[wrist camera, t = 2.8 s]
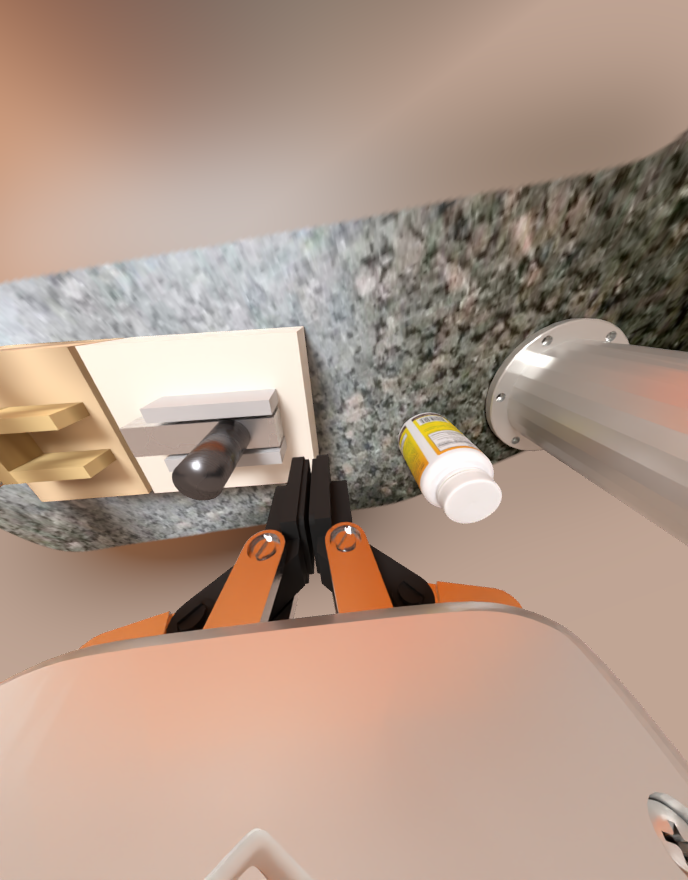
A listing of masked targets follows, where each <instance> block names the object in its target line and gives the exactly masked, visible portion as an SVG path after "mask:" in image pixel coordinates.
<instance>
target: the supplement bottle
mask: <svg viewBox="0 0 688 880" xmlns="http://www.w3.org/2000/svg"><path fill="white" fill-rule="evenodd" d="M398 445H399V448H400V451H401V453H402V455H403V457H404V459H405V460H406V462H407V464H408V466H409V468H410V470H411V472H412V474H413V476H414V478H415V480H416V482H417V484H418V486H419V488H420V490H421V492H422V494H423V495H424V497H425V498H426V500H427V501H428V502H429V503H431V504H432V505H434V506H436V507H439V508H442V509H443V510H444V512H445V514H446V515H447V516H448V518H450V519H451V520H453V521H455V522H458V523H473V522H477V521H480V520H482V519H484V518H486V517H488V516H489V515H490V514H492V513H493V512H494V511H495V510H496V509H497V507H498V506H499V504H500V502H501V498H502V493H501V489H500V487H499V486H498V485H497V484H496V482H494V480H493V475H494V472H493V466H492V464H491V462H490V460H489V459H488V458H487V457H486V456H485V455H484V454H483V453H482V452H481V451H480V450H479V449H478V448H477V447H476V446H475V445H474V444H473V443H472V442H471V441H469V440H468V439H467V438H466V437H465V436H464V435H463V434H462V433H461V432H460V431H459V430H458V429H457V428H456V427H455V426H453V425H452V424H451V423H450V422H449V421H448V420H447V419H446V418H445V417H443V416H441V415H439V414H436V413H430V412H427V413H421V414H418V415H416V416H414V417H412V418H410V419H409V420H408V421H407V422H406V423H405V424H404V425H403V427H402V428H401V430H400V432H399V436H398Z"/></svg>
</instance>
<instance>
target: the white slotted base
mask: <svg viewBox="0 0 688 880" xmlns="http://www.w3.org/2000/svg"><path fill="white" fill-rule="evenodd" d="M75 347H76V349H77V351H78V353H79V355H80V357H81V359H82V360H83V362H84V364H85V366H86V368H87V370H88V371H89V373H90V375H91V377H92V379H93V381H94V382H95V384H96V386H97V388H98V390H99V392H100V393H101V395H102V397H103V399H104V401H105V403H106V404H107V406H108V408H109V410H110V412H111V414H112V415H113V417H114V419H115V421H116V423H117V425H118V426H119V428H121V427H123V426H125V425H127V424H128V423H130V422H132V421H133V420H135V419H137V418H138V417H143V418H144V420H145V422H146V424H149V423H163V422H177V421H191V420H205V419H219V418H233V417H246V416H260V415H272V414H273V412H274V410H275V408H276V407H279V411H280V416H281V421H282V426H283V431H284V435H283V438H282V441H281V443H280V446H279V447H267V448H253V449H246V450H245V452H244V453H243V455H242V457H241V459H240V460H239V462H238V464H237V465H236V467H235V469H234V471H233V472H232V474H231V476H230V478H229V479H228V481H227V483H226V484H225V486H224V488H228V487H241V486H254V485H267V484H280V483H287V482H288V477H289V471H290V466H291V461H292V458H293V457H305V459H309V462H310V468H311V471H312V459H316V457H317V455H319V449H318V441H317V432H316V424H315V416H314V408H313V399H312V391H311V383H310V375H309V366H308V358H307V350H306V342H305V334H304V326H300V327H285V328H269V329H254V330H238V331H223V332H207V333H192V334H176V335H161V336H145V337H130V338H124V339H118V340H111V341H105V342H99V343H93V344H86V345H80V346H75ZM188 454H189V453H186V454H173V455H159V456H146V457H135V458H136V460H137V461H138V463H139V465H140V467H141V469H142V471H143V472H144V474H145V476H146V478H147V480H148V482H149V483H150V485H151V487H152V489H153V491H154V493H164V492H177V491H179V490H178V489H177V488H176V487H175V485H174V484H173V481H172V473H173V471H174V469H175V468H176V467H177V466H178V465H179V464H180V462H181V461H182V460H183V459H184V458H185V457H186V456H187V455H188Z"/></svg>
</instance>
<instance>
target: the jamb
mask: <svg viewBox="0 0 688 880" xmlns="http://www.w3.org/2000/svg"><path fill="white" fill-rule="evenodd" d="M118 339H124V338H114V339H99V340H83V341H67V342H52V343H36V344H21V345H8V346H0V481H1V482H2V483H3V484H4V485H7V484H20V483H27V484H28V486H29V487H30V488H31V489H32V490H33V491H34V493H35V494H36V495H37V496H38V497H39V499H40V500H41V501H42V502H48V501H61V500H74V499H87V498H99V497H112V496H125V495H138V494H149V493H150V492H151V491H152V490H153V489H152V487H151V485H150V483H149V482H148V480H147V478H146V476H145V474H144V472H143V471H142V469H141V467H140V465H139V463H138V461H137V460H136V458H135V457H134V455H133V453H132V451H131V450H130V448H129V446H128V444H127V442H126V440H125V439H124V437H123V435H122V433H121V431H120V428H119V426H118V425H117V423H116V421H115V419H114V417H113V415H112V414H111V412H110V410H109V408H108V406H107V404H106V403H105V401H104V399H103V397H102V395H101V393H100V392H99V390H98V388H97V386H96V384H95V382H94V381H93V379H92V377H91V375H90V373H89V371H88V370H87V368H86V366H85V364H84V362H83V360H82V359H81V357H80V355H79V353H78V351H77V349H76V347H75V346H80V345H86V344H93V343H99V342H105V341H111V340H118Z"/></svg>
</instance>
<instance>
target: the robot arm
mask: <svg viewBox="0 0 688 880" xmlns="http://www.w3.org/2000/svg"><path fill="white" fill-rule="evenodd" d="M485 410H486V417H487V421H488V424H489V427H490V429H491V430H492V431H493V433H494V434H495V435H496V436H497V437H498V438H499V439H500V440H502V441H503V442H504V443H506V444H507V445H509V446H511V447H513V448H516V449H520V450H527V451H535V450H545V451H547V452H548V453H550V454H551V455H553V456H554V457H556V458H557V459H559V460H560V461H562V462H563V463H565V464H566V465H568V466H569V467H571V468H572V469H573V470H575V471H576V472H578V473H580V474H581V475H582V476H584V477H585V478H587V479H588V480H590V481H591V482H593V483H594V484H596V485H597V486H599V487H600V488H602V489H603V490H605V491H606V492H608V493H609V494H611V495H612V496H614V497H615V498H617V499H618V500H620V501H621V502H623V503H624V504H626V505H627V506H629V507H630V508H632V509H633V510H635V511H636V512H638V513H639V514H641V515H642V516H644V517H645V518H647V519H648V520H650V521H651V522H653V523H654V524H656V525H657V526H659V527H660V528H662V529H663V530H664V531H666V532H667V533H669V534H671V535H672V536H674V537H675V538H677V539H678V540H679V541H681V542H682V543H684V544H685V545H687V546H688V352H682V351H674V350H667V349H659V348H651V347H643V346H636V345H629V342H628V339H627V337H626V336H625V335H624V333H623V332H622V331H621V329H619V328H618V327H617V326H615V325H614V324H612V323H610V322H607V321H604V320H601V319H591V318H576V319H568V320H564V321H560V322H556V323H554V324H552V325H549V326H547V327H545V328H543V329H541V330H539V331H537V332H536V333H534V334H533V335H531V336H530V337H528V338H527V339H526V340H524V341H523V342H522V343H521V344H520V345H519V346H517V347H516V348H515V349H514V350H513V351H512V352H511V354H510V355H509V356H508V357H507V358H506V359H505V360H504V362H503V363H502V365H501V366H500V368H499V369H498V371H497V372H496V374H495V376H494V378H493V380H492V382H491V384H490V387H489V391H488V394H487V398H486V409H485ZM314 555H315V561H316V566H317V572H318V573H320V575H321V581H322V584H323V585H324V586H326V587H327V588H328V589H329V590H330V591H331V592H332V596H333V602H334V607H335V613H336V614H331V615H322V616H313V617H305V618H296V619H294V615H295V610H296V606H297V601H298V592H299V591H300V590H301V589H302V588H303V587H304V586H305V584H307V583H309V574H314ZM0 880H688V762H687V761H686V760H685V758H684V757H683V756H682V755H681V754H680V752H679V751H678V750H677V749H676V747H675V746H674V745H673V744H672V743H671V741H670V740H669V739H668V737H667V736H666V735H665V734H664V733H663V731H662V730H661V729H660V728H659V726H658V725H657V724H656V723H655V721H654V720H653V719H652V718H651V717H650V715H649V714H648V713H647V712H646V710H645V709H644V708H643V707H642V706H641V704H640V703H639V702H638V701H637V700H636V699H635V697H634V696H633V695H632V694H631V693H630V692H629V690H628V689H627V688H626V687H625V686H624V685H623V683H622V682H621V681H620V680H619V679H618V678H617V677H616V675H615V674H614V673H613V672H612V671H611V670H610V669H609V668H608V667H607V665H606V664H605V663H604V662H603V661H602V660H601V659H600V658H599V657H598V656H597V655H596V654H595V653H594V652H593V651H592V650H591V649H590V648H589V647H588V646H587V645H586V644H585V643H584V642H583V641H582V640H581V639H580V638H579V637H577V636H576V635H575V634H573V633H572V632H571V631H570V630H568V629H567V628H565V627H564V626H562V625H560V624H559V623H557V622H555V621H553V620H551V619H548V618H546V617H544V616H541V615H539V614H536V613H534V612H531V611H528V610H525V609H523V608H522V607H521V605H520V603H519V602H518V601H517V600H516V599H515V598H514V597H512V596H511V595H510V594H508V593H506V592H505V591H503V590H499V589H496V588H489V587H481V586H473V585H465V584H456V583H449V582H440V581H437V582H436V584H431V583H427V582H426V581H425V580H424V579H422V578H421V577H420V576H418V575H417V574H415V573H413V572H412V571H410V570H409V569H407V568H405V567H404V566H402V565H401V564H399V563H398V562H396V561H395V560H393V559H392V558H390V557H388V556H387V555H385V554H384V553H382V552H380V551H379V550H377V549H376V548H374V547H373V546H371V545H370V544H369V542H368V540H367V537H366V535H365V532H364V531H363V529H362V528H361V527H360V526H358V525H356V524H354V523H352V517H351V509H350V502H349V495H348V488H347V481H346V480H342V481H331V478H330V468H329V458H328V454H326V455H317V457H316V459H312V471H311V468H310V462H309V459H305V457H293V458H292V461H291V466H290V471H289V477H288V482H287V486H278V487H276V489H275V493H274V497H273V501H272V505H271V509H270V513H269V517H268V521H267V525H266V529H265V530H264V531H261V532H258V533H257V534H255V535H253V536H252V537H251V538H250V539H249V540H248V541H247V542H246V544H245V545H244V547H243V549H242V551H241V553H240V555H239V557H238V559H237V561H236V563H235V565H234V566H233V567H231V568H230V569H229V570H227V571H226V572H225V573H224V574H222V575H221V576H220V577H218V578H217V579H216V580H215V581H214V582H212V583H211V584H209V585H208V586H207V587H206V588H204V589H203V590H202V591H201V592H199V593H198V594H196V595H195V596H194V597H193V598H191V599H190V600H189V601H188V602H186V603H185V604H184V605H183V606H182V607H181V608H179V609H178V610H177V612H176V613H173V614H171V612H170V611H168V612H165V613H162V614H159V615H156V616H153V617H150V618H147V619H144V620H141V621H138V622H135V623H132V624H129V625H126V626H123V627H120V628H117V629H114V630H111V631H108V632H105V633H102V634H100V635H98V636H96V637H94V638H92V639H91V640H89V641H88V642H87V643H85V644H84V645H82V646H81V647H80V648H79V649H78V650H75V651H71V652H68V653H65V654H63V655H60V656H57V657H54V658H51V659H49V660H46V661H43V662H41V663H39V664H37V665H35V666H32V667H30V668H28V669H26V670H24V671H22V672H20V673H17V674H15V675H13V676H11V677H9V678H8V679H6V680H4V681H2V682H0Z"/></svg>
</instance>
